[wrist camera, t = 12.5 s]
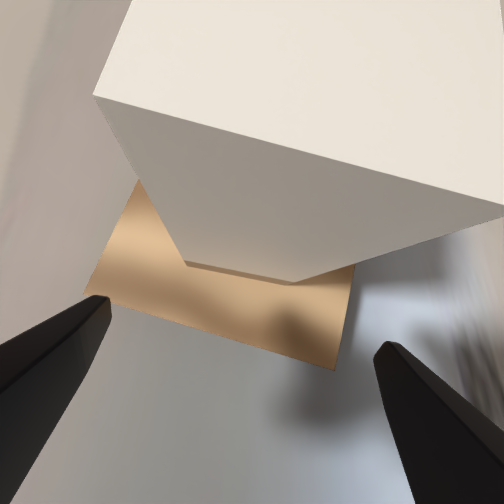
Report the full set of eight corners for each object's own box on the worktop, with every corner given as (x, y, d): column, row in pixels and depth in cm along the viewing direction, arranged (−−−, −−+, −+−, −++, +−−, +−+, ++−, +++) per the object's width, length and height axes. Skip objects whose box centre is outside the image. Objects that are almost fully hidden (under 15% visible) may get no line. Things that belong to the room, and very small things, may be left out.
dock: (318, 362, 18) (334, 370, 16) (101, 296, 17) (82, 294, 14) (353, 195, 22) (371, 180, 19) (178, 129, 20) (174, 105, 18)
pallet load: (284, 285, 16) (522, 209, 4) (186, 266, 16) (92, 93, 3) (296, 204, 18) (495, -40, 5) (207, 182, 17) (198, -159, 5)
